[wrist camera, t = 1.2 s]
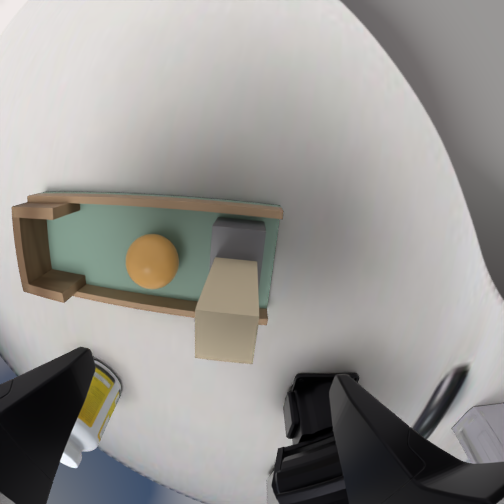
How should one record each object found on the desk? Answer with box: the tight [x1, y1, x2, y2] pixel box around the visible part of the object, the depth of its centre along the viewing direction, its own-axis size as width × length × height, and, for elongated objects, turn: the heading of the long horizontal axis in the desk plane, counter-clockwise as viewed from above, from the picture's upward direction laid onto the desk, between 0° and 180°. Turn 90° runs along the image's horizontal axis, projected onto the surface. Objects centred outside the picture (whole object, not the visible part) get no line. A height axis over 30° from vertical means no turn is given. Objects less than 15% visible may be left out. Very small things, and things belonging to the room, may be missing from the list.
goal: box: [12, 202, 86, 303], centre depth 17 cm, size 5×7×4 cm
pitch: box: [27, 192, 283, 325], centre depth 18 cm, size 20×8×2 cm, turn 84°
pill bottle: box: [60, 360, 121, 468], centre depth 19 cm, size 6×6×12 cm
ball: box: [126, 234, 179, 289], centre depth 17 cm, size 4×4×4 cm
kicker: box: [195, 217, 266, 364], centre depth 14 cm, size 3×6×9 cm, turn 174°
